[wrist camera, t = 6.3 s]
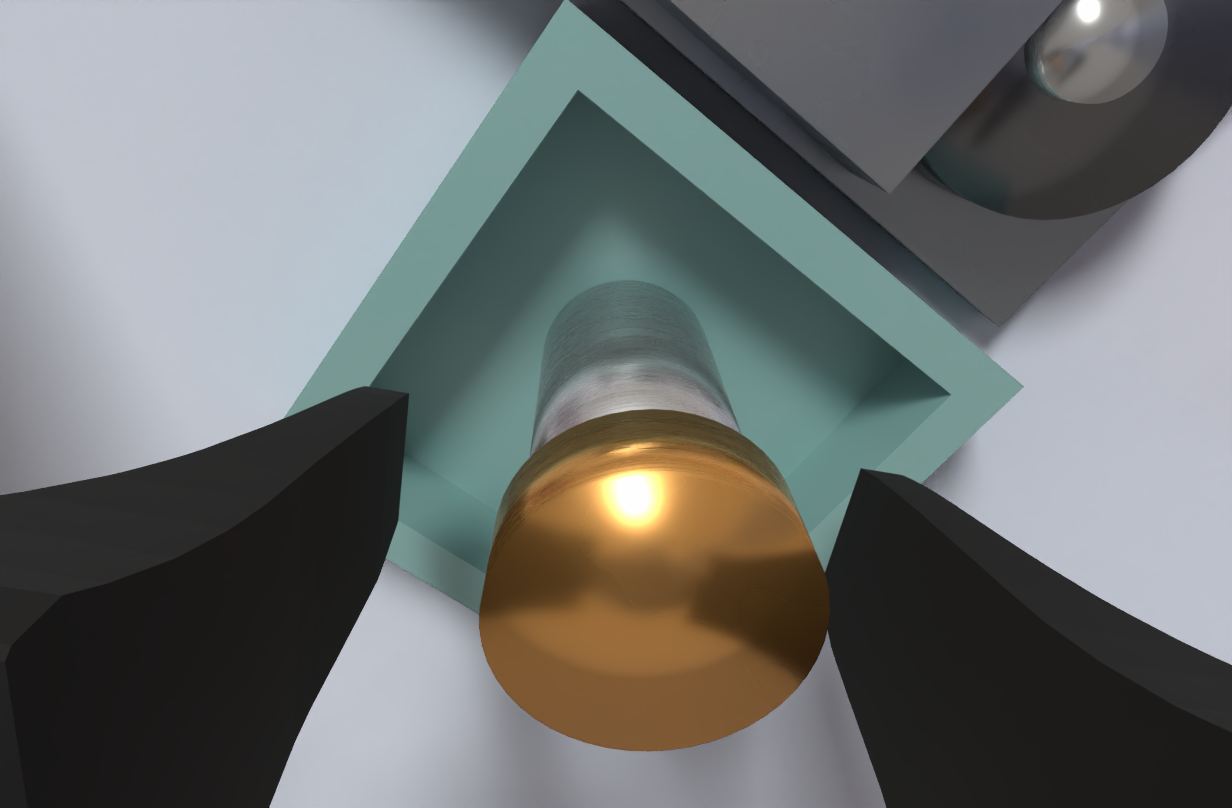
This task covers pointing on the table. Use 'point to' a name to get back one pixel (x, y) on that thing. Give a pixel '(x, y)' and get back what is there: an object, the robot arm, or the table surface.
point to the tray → (650, 252)
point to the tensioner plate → (972, 112)
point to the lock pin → (646, 541)
